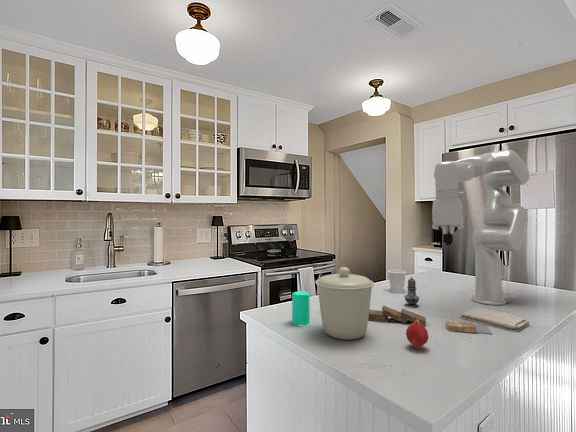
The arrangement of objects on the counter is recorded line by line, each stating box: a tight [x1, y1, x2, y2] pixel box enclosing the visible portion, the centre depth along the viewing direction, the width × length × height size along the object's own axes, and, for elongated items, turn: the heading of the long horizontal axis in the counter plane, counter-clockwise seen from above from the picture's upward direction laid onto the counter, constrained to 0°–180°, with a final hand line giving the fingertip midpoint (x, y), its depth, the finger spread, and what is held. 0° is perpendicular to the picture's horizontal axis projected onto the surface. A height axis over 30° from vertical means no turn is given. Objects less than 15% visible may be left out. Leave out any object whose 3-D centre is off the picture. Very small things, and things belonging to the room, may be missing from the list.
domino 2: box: [368, 316, 390, 323], centre depth 112 cm, size 2×5×8 cm
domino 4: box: [400, 308, 427, 327], centre depth 109 cm, size 2×5×8 cm
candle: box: [291, 288, 311, 326], centre depth 109 cm, size 6×6×12 cm
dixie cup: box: [387, 269, 407, 294], centre depth 152 cm, size 8×8×10 cm
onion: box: [405, 320, 430, 349], centre depth 88 cm, size 6×6×8 cm
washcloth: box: [460, 307, 530, 333], centre depth 109 cm, size 12×18×3 cm, turn 37°
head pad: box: [473, 323, 493, 335], centre depth 102 cm, size 7×8×1 cm
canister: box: [315, 266, 375, 341], centre depth 99 cm, size 18×18×21 cm
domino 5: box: [445, 320, 477, 333], centre depth 102 cm, size 2×5×8 cm
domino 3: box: [381, 305, 408, 324], centre depth 111 cm, size 2×5×8 cm
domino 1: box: [368, 309, 387, 320], centre depth 113 cm, size 2×5×8 cm
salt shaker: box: [403, 276, 420, 309], centre depth 129 cm, size 6×6×12 cm
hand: (448, 244), depth 117 cm, fingers closed
